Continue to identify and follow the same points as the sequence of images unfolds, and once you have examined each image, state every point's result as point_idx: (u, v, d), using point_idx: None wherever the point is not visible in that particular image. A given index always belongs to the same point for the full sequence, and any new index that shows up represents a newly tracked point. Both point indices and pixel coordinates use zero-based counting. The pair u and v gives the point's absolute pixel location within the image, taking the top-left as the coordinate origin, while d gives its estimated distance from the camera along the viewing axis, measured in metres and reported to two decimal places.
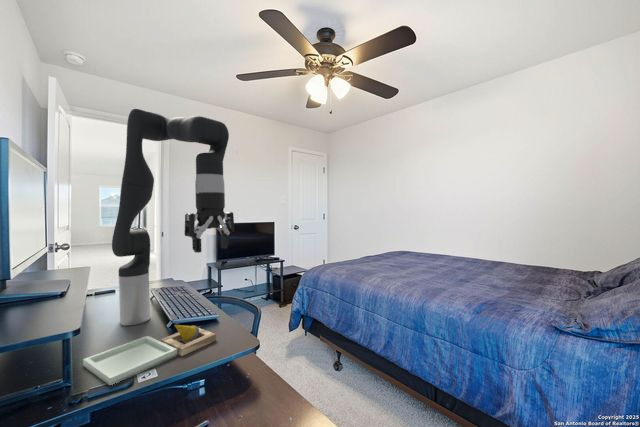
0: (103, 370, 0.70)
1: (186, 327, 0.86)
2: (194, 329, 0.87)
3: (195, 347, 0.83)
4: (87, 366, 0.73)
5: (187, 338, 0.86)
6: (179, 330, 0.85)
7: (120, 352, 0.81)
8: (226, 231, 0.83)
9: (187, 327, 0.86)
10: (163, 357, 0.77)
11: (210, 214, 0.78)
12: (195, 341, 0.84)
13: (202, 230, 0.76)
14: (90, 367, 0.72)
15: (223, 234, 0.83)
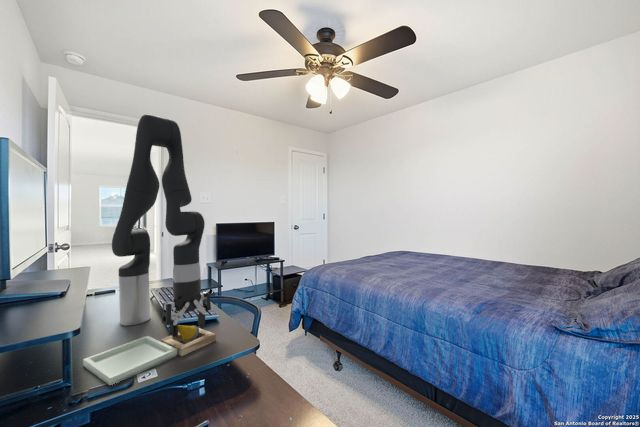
0: (103, 370, 0.70)
1: (186, 327, 0.86)
2: (194, 329, 0.87)
3: (195, 347, 0.83)
4: (87, 366, 0.73)
5: (187, 338, 0.86)
6: (179, 330, 0.85)
7: (120, 352, 0.81)
8: (202, 311, 0.90)
9: (187, 327, 0.86)
10: (163, 357, 0.77)
11: (187, 300, 0.85)
12: (195, 341, 0.84)
13: (179, 317, 0.83)
14: (90, 367, 0.72)
15: (200, 313, 0.90)
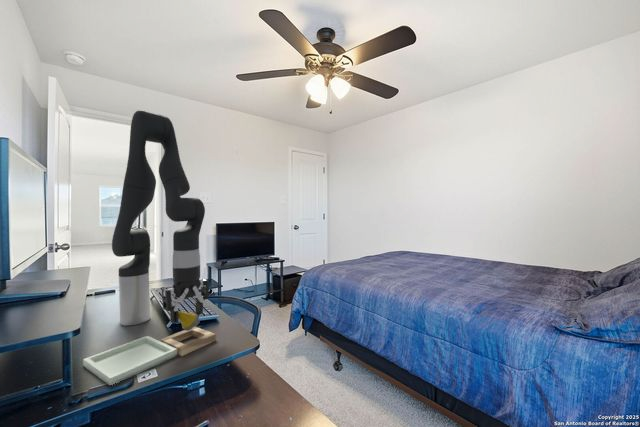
0: (103, 370, 0.70)
1: (186, 314, 0.86)
2: (194, 316, 0.88)
3: (195, 347, 0.83)
4: (87, 366, 0.73)
5: (187, 325, 0.86)
6: (179, 316, 0.85)
7: (120, 352, 0.81)
8: (200, 299, 0.89)
9: (187, 314, 0.87)
10: (163, 357, 0.77)
11: (186, 286, 0.85)
12: (195, 341, 0.84)
13: (179, 303, 0.83)
14: (90, 367, 0.72)
15: (198, 302, 0.90)
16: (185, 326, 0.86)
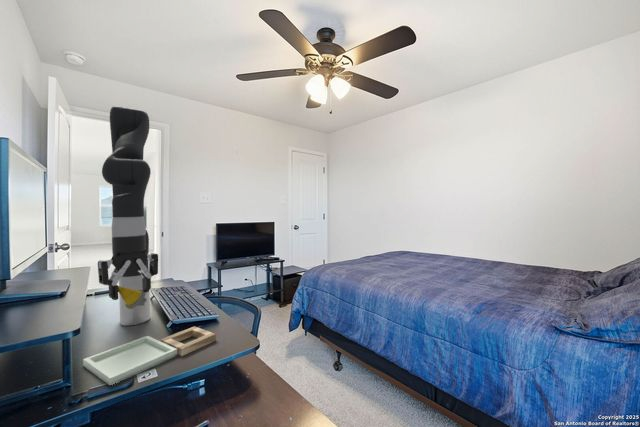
0: (103, 370, 0.70)
1: (129, 290, 0.77)
2: (139, 293, 0.78)
3: (195, 347, 0.83)
4: (87, 366, 0.73)
5: (130, 302, 0.76)
6: (120, 292, 0.75)
7: (120, 352, 0.81)
8: (147, 274, 0.80)
9: (131, 290, 0.77)
10: (163, 357, 0.77)
11: (128, 258, 0.76)
12: (195, 341, 0.84)
13: (118, 276, 0.73)
14: (90, 367, 0.72)
15: (144, 277, 0.80)
16: (128, 304, 0.76)
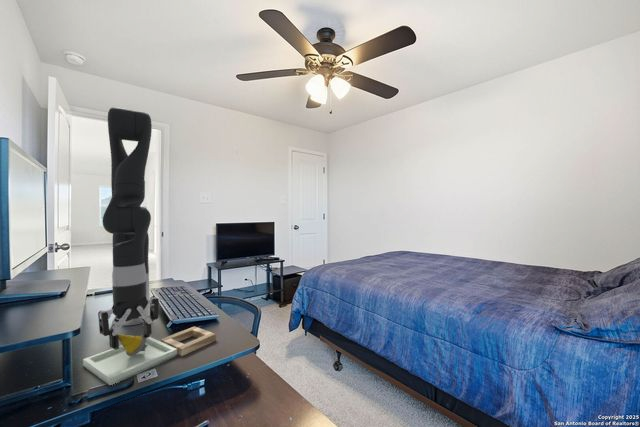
0: (103, 370, 0.70)
1: (130, 337, 0.77)
2: (140, 340, 0.78)
3: (195, 347, 0.83)
4: (87, 366, 0.73)
5: (130, 350, 0.76)
6: (121, 340, 0.75)
7: (120, 352, 0.81)
8: (147, 320, 0.80)
9: (131, 337, 0.77)
10: (163, 357, 0.77)
11: (128, 306, 0.76)
12: (195, 341, 0.84)
13: (119, 326, 0.74)
14: (90, 367, 0.72)
15: (145, 323, 0.80)
16: (129, 351, 0.76)
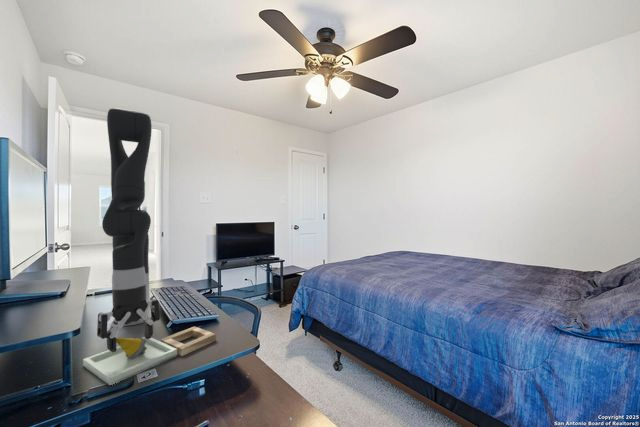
0: (103, 370, 0.70)
1: (129, 340, 0.76)
2: (139, 342, 0.78)
3: (195, 347, 0.83)
4: (87, 366, 0.73)
5: (130, 353, 0.76)
6: (120, 344, 0.75)
7: (120, 352, 0.81)
8: (149, 321, 0.80)
9: (130, 340, 0.77)
10: (163, 357, 0.77)
11: (128, 309, 0.76)
12: (195, 341, 0.84)
13: (117, 329, 0.73)
14: (90, 367, 0.72)
15: (146, 324, 0.81)
16: (128, 354, 0.76)
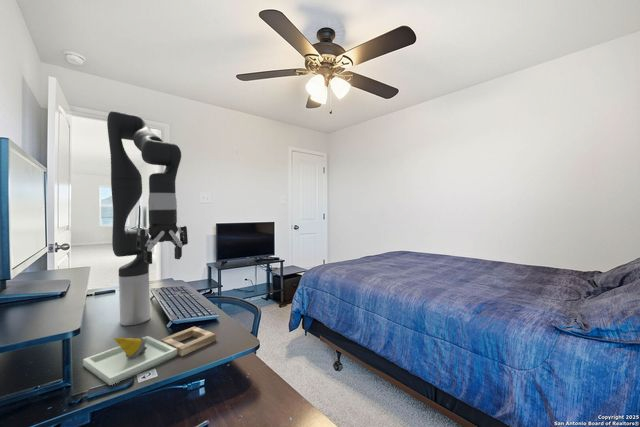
0: (103, 370, 0.70)
1: (129, 340, 0.76)
2: (139, 342, 0.78)
3: (195, 347, 0.83)
4: (87, 366, 0.73)
5: (130, 353, 0.76)
6: (120, 344, 0.75)
7: (120, 352, 0.81)
8: (179, 244, 0.90)
9: (130, 340, 0.77)
10: (163, 357, 0.77)
11: (162, 229, 0.86)
12: (195, 341, 0.84)
13: (153, 244, 0.84)
14: (90, 367, 0.72)
15: (176, 246, 0.91)
16: (128, 354, 0.76)
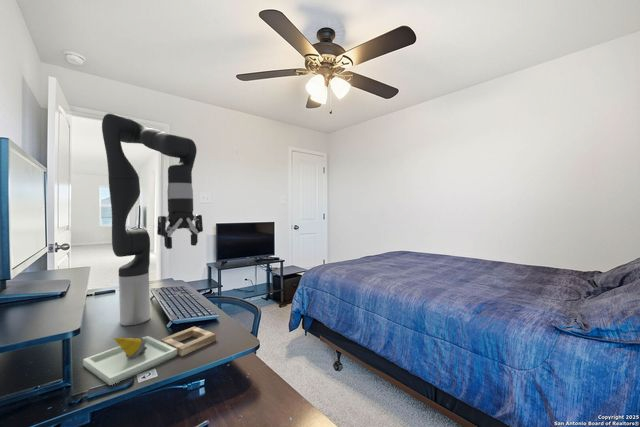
0: (103, 370, 0.70)
1: (129, 340, 0.76)
2: (139, 342, 0.78)
3: (195, 347, 0.83)
4: (87, 366, 0.73)
5: (130, 353, 0.76)
6: (120, 344, 0.75)
7: (120, 352, 0.81)
8: (195, 231, 0.97)
9: (130, 340, 0.77)
10: (163, 357, 0.77)
11: (180, 216, 0.93)
12: (195, 341, 0.84)
13: (172, 230, 0.91)
14: (90, 367, 0.72)
15: (192, 233, 0.98)
16: (128, 354, 0.76)
